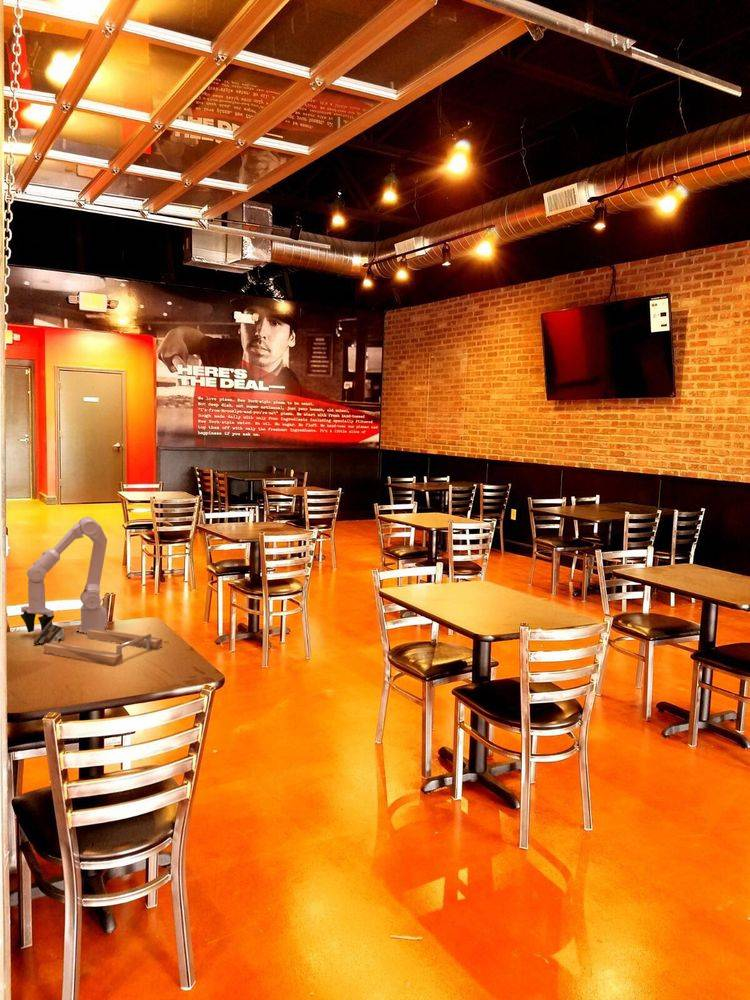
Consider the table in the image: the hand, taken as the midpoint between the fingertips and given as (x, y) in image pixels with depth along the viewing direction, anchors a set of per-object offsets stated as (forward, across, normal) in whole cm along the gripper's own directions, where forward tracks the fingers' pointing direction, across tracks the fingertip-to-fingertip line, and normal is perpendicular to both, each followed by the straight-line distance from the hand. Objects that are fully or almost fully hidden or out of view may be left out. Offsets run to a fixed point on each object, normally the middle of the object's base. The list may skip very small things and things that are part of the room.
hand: (38, 632), depth 279 cm
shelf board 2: (+2, +33, +9) cm, 35 cm away
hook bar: (+2, +47, -1) cm, 47 cm away
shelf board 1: (+2, +34, -11) cm, 35 cm away
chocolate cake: (+2, +9, -2) cm, 9 cm away
